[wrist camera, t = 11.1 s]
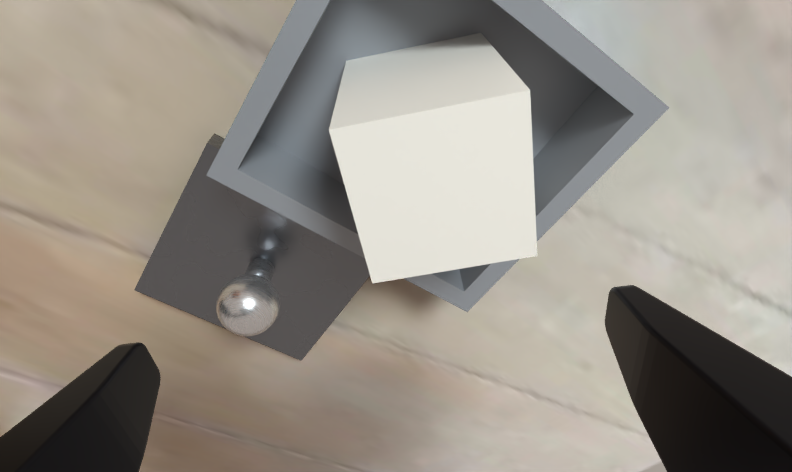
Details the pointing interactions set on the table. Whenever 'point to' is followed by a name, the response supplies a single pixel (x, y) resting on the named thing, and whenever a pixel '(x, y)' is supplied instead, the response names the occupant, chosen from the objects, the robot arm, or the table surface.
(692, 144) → the table surface
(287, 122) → the bin
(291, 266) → the stud plate
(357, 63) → the cream rectangular block
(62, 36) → the table surface
